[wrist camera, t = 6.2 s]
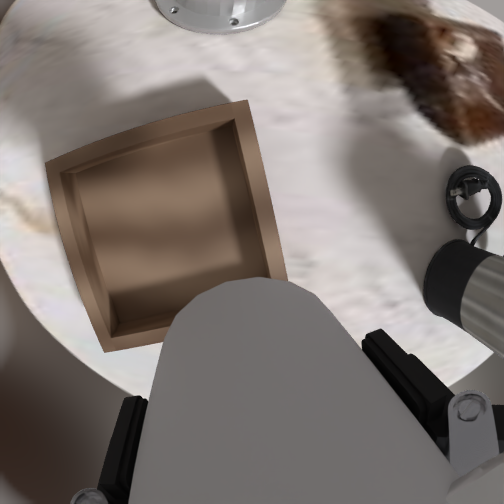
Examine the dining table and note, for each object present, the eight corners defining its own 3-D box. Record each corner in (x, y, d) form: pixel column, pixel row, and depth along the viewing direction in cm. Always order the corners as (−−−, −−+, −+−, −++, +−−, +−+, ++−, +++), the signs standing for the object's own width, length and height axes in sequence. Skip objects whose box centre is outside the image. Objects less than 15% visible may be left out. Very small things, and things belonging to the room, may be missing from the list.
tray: (66, 165, 22) (44, 163, 19) (242, 112, 23) (247, 99, 20) (116, 331, 26) (104, 352, 22) (283, 292, 27) (294, 310, 23)
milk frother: (432, 331, 31) (515, 394, 16) (387, 217, 27) (508, 249, 13) (500, 262, 30) (583, 295, 16) (469, 153, 27) (573, 153, 12)
